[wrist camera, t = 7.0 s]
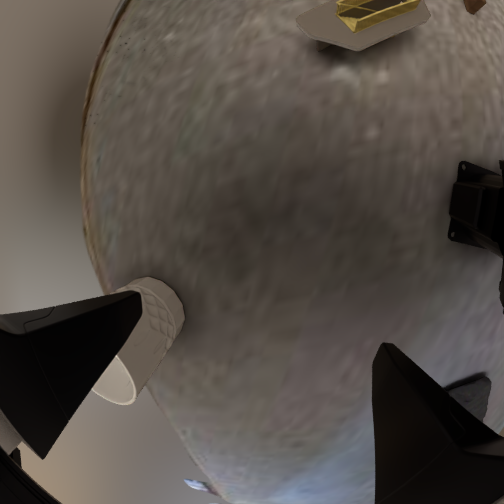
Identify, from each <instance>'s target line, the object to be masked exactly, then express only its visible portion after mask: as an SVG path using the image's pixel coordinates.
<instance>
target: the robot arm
mask: <svg viewBox="0 0 504 504" xmlns="http://www.w3.org/2000/svg"><path fill="white" fill-rule="evenodd" d="M463 164H464V165H465V166H466V169H465V170H463V169H462V165H463ZM499 164H500V169H502V176H501V175H499V174H496V173H494V172H492V171H489V170H487V169H484V168H482V167H479V166H477V165H474V164H472V163H469V162H466V161H461V162H460V163H459V167H458V176H457V182H456V183H455V184H454V187H453V194H452V201H451V207H450V212H449V214H450V216H451V221H450V226H449V231H448V238H449V239H450V240H451V241H455V242H459V243H464V244H468V245H472V246H477V247H481V248H485V249H488V250H490V251H491V252H493V253H495V254H496V255H498V256H499V257H501V258H502V259H503V267H502V276H501V281H500V283H499V291H500V301H501V303H502V306H503V308H504V160H499ZM452 232H455V236H454V237H451V233H452ZM142 313H143V308H142V297H141V294H140V293H139V292H137V291H134V290H128V291H123V292H119V293H114V294H110V295H105V296H100V297H96V298H91V299H86V300H82V301H77V302H72V303H68V304H63V305H58V306H56V307H54V306H53V307H49V308H44V309H38V310H32V311H26V312H19V313H10V314H3V315H0V504H62V503H61V502H59V501H58V500H57V499H55V498H54V497H53V496H52V495H50V494H49V493H48V492H47V491H46V490H44V489H43V488H42V487H41V486H40V485H39V484H37V482H35V481H34V480H33V479H32V478H31V477H30V476H29V475H28V474H27V473H26V472H25V471H24V470H23V469H22V467H21V456H20V450H19V449H18V448H17V446H18V445H19V444H20V443H21V441H23V442H24V443H25V444H26V445H27V446H28V447H29V448H30V449H31V450H32V451H33V452H34V453H35V454H36V455H37V456H39V457H40V458H41V459H42V460H43V459H44V458H45V457H46V455H47V454H48V452H49V451H50V449H51V448H52V446H53V445H54V443H55V441H56V440H57V438H58V437H59V435H60V434H61V432H62V431H63V429H64V428H65V426H66V425H67V423H68V422H69V420H70V419H71V417H72V416H73V414H74V413H75V412H76V410H77V409H78V407H79V406H80V404H81V403H82V401H83V400H84V399H85V397H86V396H87V394H88V393H89V392H90V390H91V389H92V388H93V386H94V385H95V383H96V382H97V381H98V379H99V378H100V377H101V375H102V374H103V372H104V371H105V370H106V368H107V367H108V366H109V364H110V363H111V362H112V360H113V359H114V358H115V356H116V355H117V354H118V352H119V351H120V350H121V348H122V347H123V346H124V344H125V343H126V341H127V339H128V338H129V336H130V334H131V333H132V331H133V329H134V328H135V326H136V325H137V323H138V321H139V320H140V318H141V316H142ZM503 314H504V309H503ZM372 409H373V422H374V439H375V504H504V437H502V436H500V435H498V434H497V433H495V432H494V431H493V430H492V429H490V428H489V427H488V426H487V425H485V424H484V423H483V422H481V421H480V420H479V419H478V418H476V417H475V416H474V415H473V414H471V413H470V412H469V411H468V410H466V409H465V408H464V407H463V406H462V405H461V404H460V403H459V402H457V401H456V400H455V399H454V398H453V397H452V396H450V394H449V393H448V392H446V391H445V390H444V389H443V388H442V387H441V386H440V385H439V384H438V383H437V382H435V381H434V380H433V379H432V378H431V377H430V376H429V375H428V374H427V373H425V372H424V371H423V370H422V369H421V368H420V367H419V366H418V365H417V364H415V363H414V362H413V361H412V360H411V359H410V358H409V357H408V356H406V355H405V354H404V353H403V352H402V351H401V350H400V349H398V348H397V347H396V346H395V345H394V344H392V343H382V344H381V345H380V347H379V349H378V351H377V354H376V356H375V358H374V360H373V364H372Z"/></svg>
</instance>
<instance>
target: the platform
mask: <svg viewBox="0 0 504 504" xmlns="http://www.w3.org/2000/svg"><path fill="white" fill-rule="evenodd" d="M401 1H402V2H403V3H401V4H400V2H401ZM430 16H431V14H430V12H429V10H428V8H427V6H426V4H425V2H424V0H331V1H329V2H326V3H324V4H322V5H320V6H317V7H315V8H313V9H311V10H309V11H307V12H305V13H303V14H301V15H299V16H297V18H296V24H297V27H298V28H299V29H300V30H301V31H302V32H303V33H304V34H305V35H306V36H308V37H309V38H311V39H316V40H317V51H318V52H319V51H320V50H322V49H324V48H326V47H328V46H330V45H332V44H334V45H338V46H341V47H344V48H347V49H351V50H354V51H361V50H363V49H365V48H368V47H370V46H372V45H374V44H376V43H378V42H380V41H383V40H385V39H387V38H389V37H394V36H395V35H396V34H399V33H401V32H404V31H406V30H409V29H411V28H414V27H417V26H419V25H422V24H425V23H426V22H427V20H428V19H429V18H430Z"/></svg>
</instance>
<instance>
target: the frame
mask: <svg viewBox="0 0 504 504" xmlns="http://www.w3.org/2000/svg"><path fill="white" fill-rule="evenodd" d="M464 3H465V6H466V10H467V11H468V12H470V13H472V14H473V15H474V14H475V13H476V12H477V11H478V10H479V9H480V8H481V7H483V6H484V5H485V4H486V1H485V0H464Z"/></svg>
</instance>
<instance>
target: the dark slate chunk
mask: <svg viewBox="0 0 504 504" xmlns="http://www.w3.org/2000/svg"><path fill="white" fill-rule="evenodd" d="M490 390H491V381H490V379H489V378H487V377H483V378H481V379H479V380H477V381H474V382H471V383H467V384H464V385H463V386H460V387H456V388H454V389H452V390H449V391H446V392H448V393H449V394H450V396H452V397H453V398H454V399H455V400H456V401H457V402H459V403H460V404H461V405H462V406H463V407H464V408H465V409H466V410H468V411H469V412H470V413H471V414H473V415H474V416H475V417H476V418H478V419H479V420H480V421H481V422H483V418H484V417H485V415H486V411H487V405H488V397H489V394H490Z"/></svg>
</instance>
